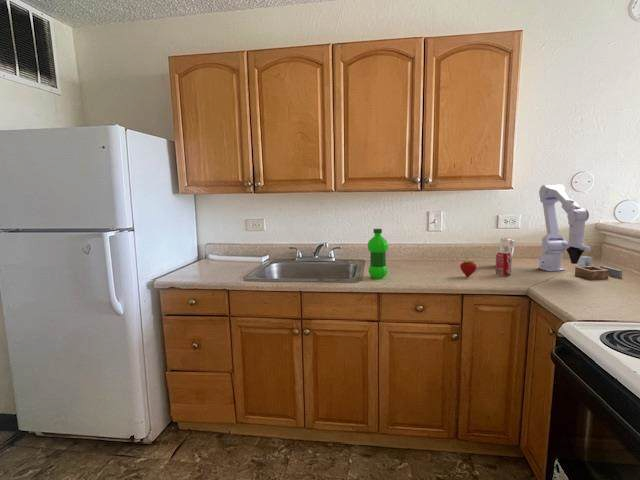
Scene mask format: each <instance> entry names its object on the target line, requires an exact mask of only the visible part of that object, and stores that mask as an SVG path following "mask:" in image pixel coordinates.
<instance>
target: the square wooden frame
mask: <svg viewBox="0 0 640 480" xmlns="http://www.w3.org/2000/svg"><path fill="white" fill-rule="evenodd" d="M574 268H575V269H574V275H575V276H577V277H581V278H583V279H587V280H590V281H591V280H592V281H593V280H604V279H609V276H610V275H609V270H606V269H603V268H600V267H598V266H595V265H592V266H582V267H578V266H575V267H574Z"/></svg>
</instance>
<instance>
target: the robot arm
mask: <svg viewBox="0 0 640 480" xmlns="http://www.w3.org/2000/svg"><path fill="white" fill-rule="evenodd" d="M538 195H539V201H540V202H541V203H542V207H543V215H544V221H545V227H546V228H545V229H546V235H545V236H543V237H542V239H541V248H542V251H543V252H542V253H541V254H540V255H539V261H538V266H537V269H541V270H543V271H547V272H557V271H566V268H562V259H563V254H564V252H565V251H566V252H567V254H568V256H569V259H570V263H571V264H572V265H576V264H579V258H580V256H583V255H582V254H583V253H584V252H591V250H592V246H589V245H586V244H585V243H584V241H585V227H586V222H587V221H588V220H589V217H590V214H589V211H588V209H587V208H583V207H580V205H579V204H578V203H577V202H576V200H575V199H572V198H571V199H570V198H569V196H568V195H567V193H566V187H565V186H564V184H548V185H547V184H543V185H542V186H540V188H539V190H538ZM558 202H560V203H561V209H563V211H564V212H565V213H566V214H567V215H566V217H567V221H568V222H567V223H568V225H569V228H568V230H569V231H568V240H567V241H566V239H565V236H564V235H563V234H561V233H559V227H558V219H557V212H556V207H555V204H556V203H558Z"/></svg>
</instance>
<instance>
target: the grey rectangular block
mask: <svg viewBox="0 0 640 480" xmlns="http://www.w3.org/2000/svg"><path fill="white" fill-rule="evenodd" d="M593 263H594V257H593V256H588V255H584V256H583V255H581V256H580V258H579V260H578V263H577V264H578V266H577V267H582V266H593Z"/></svg>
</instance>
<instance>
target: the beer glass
mask: <svg viewBox="0 0 640 480" xmlns="http://www.w3.org/2000/svg"><path fill="white" fill-rule="evenodd" d="M499 251H509V252H511V255H512V257H513V255H514V251H515V239H514V238H510V237H509V238H500V240H499Z"/></svg>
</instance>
